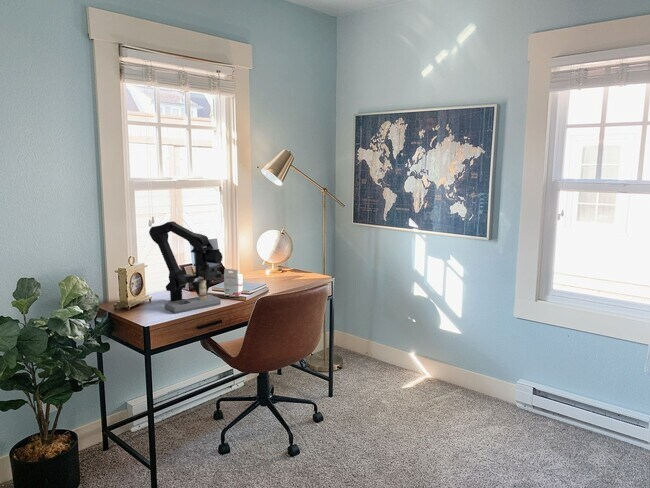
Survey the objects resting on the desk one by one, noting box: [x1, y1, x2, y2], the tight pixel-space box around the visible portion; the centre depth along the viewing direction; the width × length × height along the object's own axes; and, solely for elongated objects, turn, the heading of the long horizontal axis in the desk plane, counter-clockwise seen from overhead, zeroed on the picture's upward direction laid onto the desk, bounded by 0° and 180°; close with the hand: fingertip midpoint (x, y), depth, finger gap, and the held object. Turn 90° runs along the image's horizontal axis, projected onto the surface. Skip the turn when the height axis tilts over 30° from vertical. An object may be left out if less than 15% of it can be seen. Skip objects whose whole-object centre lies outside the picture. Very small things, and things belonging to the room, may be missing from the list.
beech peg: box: [197, 279, 208, 300], centre depth 253 cm, size 4×4×9 cm
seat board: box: [164, 294, 222, 315], centre depth 251 cm, size 10×24×3 cm, turn 133°
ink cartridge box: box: [223, 268, 244, 296], centre depth 270 cm, size 9×5×15 cm, turn 68°
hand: (202, 293), depth 254 cm, fingers closed on beech peg, 4 cm apart
